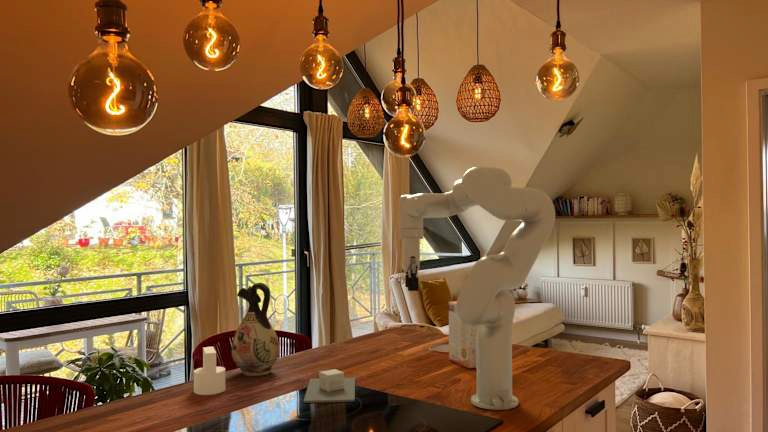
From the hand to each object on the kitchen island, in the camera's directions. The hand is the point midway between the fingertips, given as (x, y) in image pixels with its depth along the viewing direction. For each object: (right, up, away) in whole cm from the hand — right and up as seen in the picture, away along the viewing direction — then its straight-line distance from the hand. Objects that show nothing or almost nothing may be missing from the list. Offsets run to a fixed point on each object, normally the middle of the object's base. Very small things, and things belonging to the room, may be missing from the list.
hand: (411, 288), depth 183 cm
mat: (-24, -29, -11) cm, 39 cm away
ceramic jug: (-50, -29, +9) cm, 59 cm away
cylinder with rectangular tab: (-60, -29, -10) cm, 68 cm away
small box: (-24, -28, -11) cm, 39 cm away
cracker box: (+19, -28, +19) cm, 39 cm away
